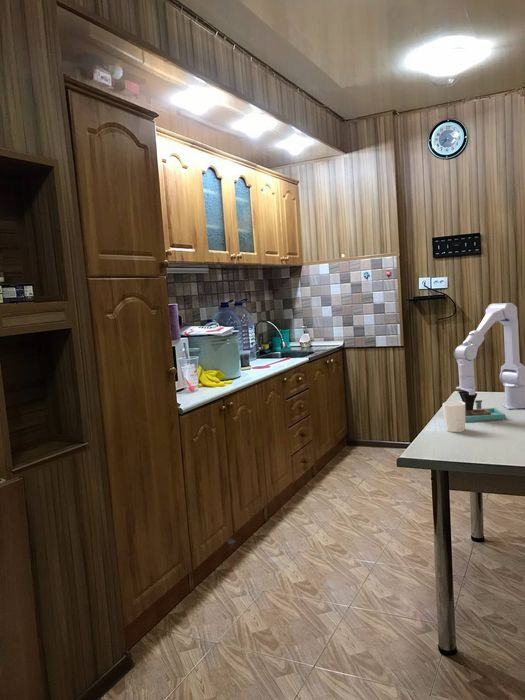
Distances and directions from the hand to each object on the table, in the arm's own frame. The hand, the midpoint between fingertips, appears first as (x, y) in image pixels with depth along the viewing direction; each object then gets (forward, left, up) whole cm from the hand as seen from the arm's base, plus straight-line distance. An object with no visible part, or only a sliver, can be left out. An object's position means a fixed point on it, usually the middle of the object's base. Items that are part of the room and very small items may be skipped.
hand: (468, 409), depth 218 cm
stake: (-7, -12, -3) cm, 14 cm away
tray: (-4, 0, -3) cm, 5 cm away
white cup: (+9, +16, -4) cm, 19 cm away
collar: (-2, 0, -3) cm, 4 cm away
